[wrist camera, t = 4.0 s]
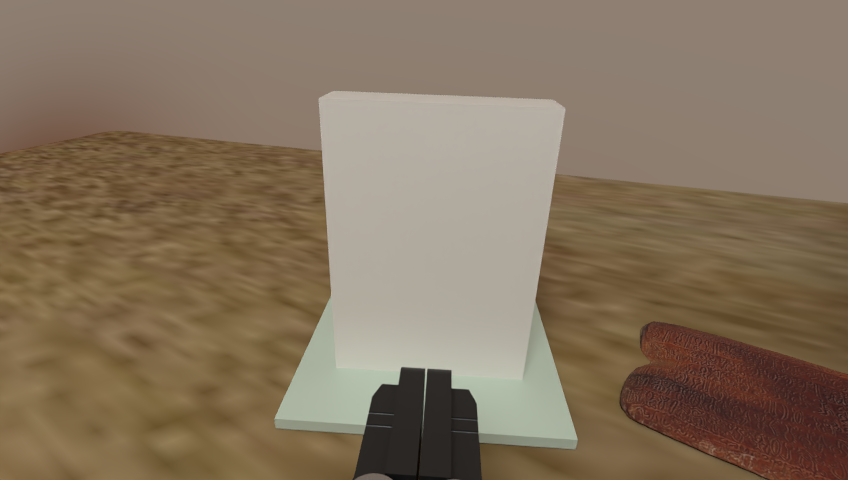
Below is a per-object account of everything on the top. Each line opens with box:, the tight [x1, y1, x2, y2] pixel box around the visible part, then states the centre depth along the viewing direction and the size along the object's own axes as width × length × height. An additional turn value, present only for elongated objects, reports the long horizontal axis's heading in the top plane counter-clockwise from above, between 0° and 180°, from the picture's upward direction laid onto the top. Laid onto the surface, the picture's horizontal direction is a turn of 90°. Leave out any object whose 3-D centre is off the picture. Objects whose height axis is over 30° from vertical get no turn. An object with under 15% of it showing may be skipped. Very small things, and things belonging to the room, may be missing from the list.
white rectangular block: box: [319, 91, 565, 380], centre depth 22 cm, size 3×10×14 cm, turn 87°
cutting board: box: [275, 297, 578, 449], centre depth 30 cm, size 20×14×1 cm
